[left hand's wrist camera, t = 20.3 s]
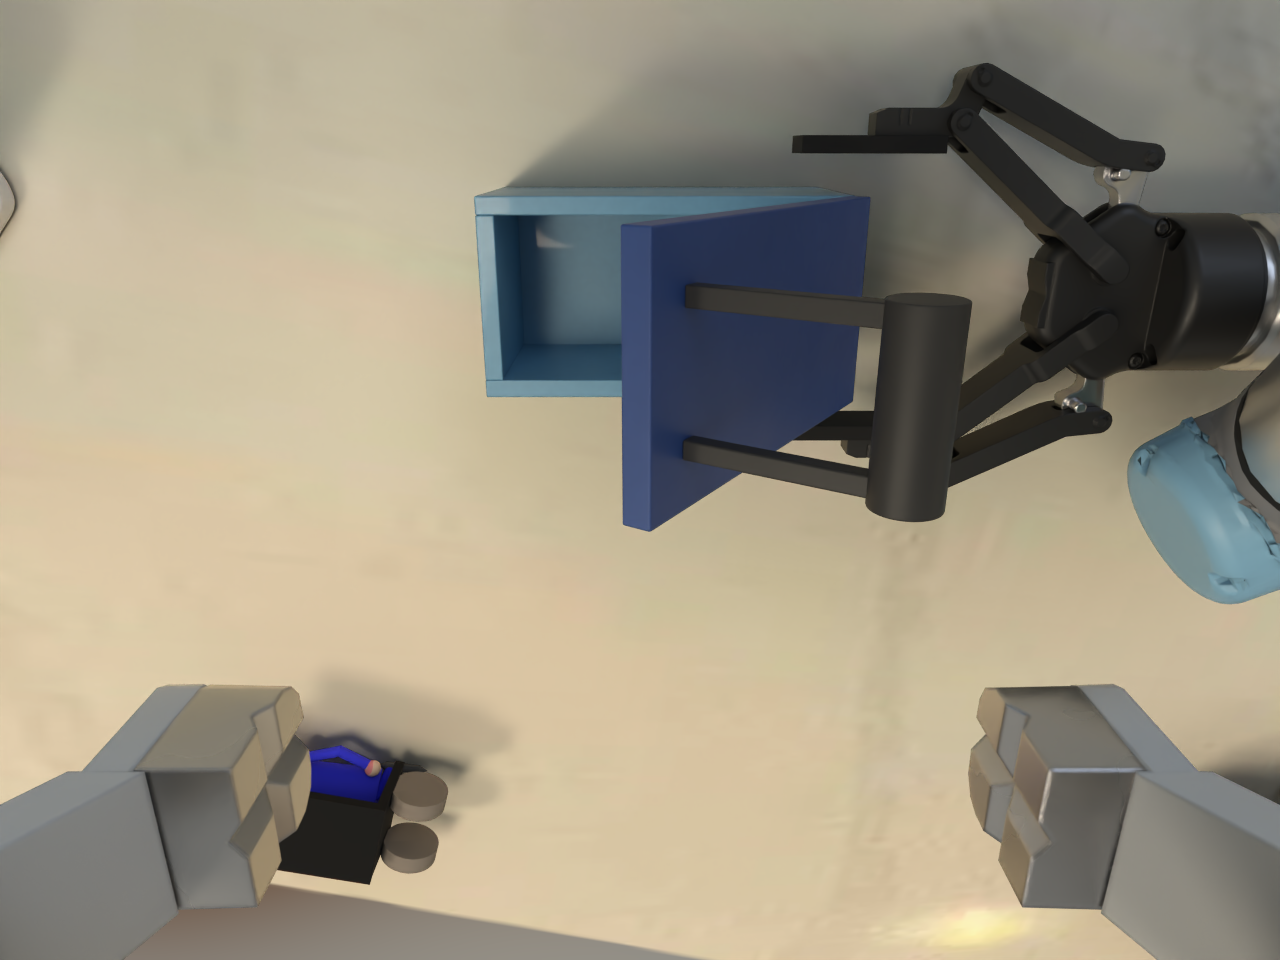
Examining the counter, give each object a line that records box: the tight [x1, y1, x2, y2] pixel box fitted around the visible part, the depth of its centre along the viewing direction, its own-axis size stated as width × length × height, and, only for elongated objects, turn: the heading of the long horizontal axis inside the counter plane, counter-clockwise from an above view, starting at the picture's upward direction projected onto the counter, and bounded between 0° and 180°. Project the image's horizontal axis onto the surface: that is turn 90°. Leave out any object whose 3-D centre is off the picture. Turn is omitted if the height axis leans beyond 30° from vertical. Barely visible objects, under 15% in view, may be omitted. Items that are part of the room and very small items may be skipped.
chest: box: [474, 187, 854, 397], centre depth 45 cm, size 17×9×9 cm, turn 90°
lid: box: [621, 196, 972, 532], centre depth 31 cm, size 18×9×9 cm
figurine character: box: [277, 745, 448, 885], centre depth 58 cm, size 7×8×15 cm
